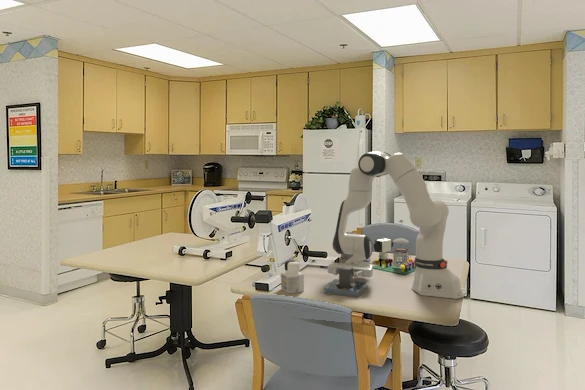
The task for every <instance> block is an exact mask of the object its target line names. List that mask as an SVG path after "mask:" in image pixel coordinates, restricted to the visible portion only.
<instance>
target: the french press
mask: <svg viewBox="0 0 585 390" xmlns="http://www.w3.org/2000/svg"><path fill="white" fill-rule="evenodd" d="M398 222H399V223H400V225H402V223H404V220H403V219H400V220H399V221H398ZM392 242H393V244H394V243H395V244H399V245H407V247H409V246H410V248H411V249H410V250H411V251H410V253H409V251H408V250H409V249H408V248H407V247H402V246H399V247H394V249H393V250H394V251H393V254H392V255H393V256H392V260H393V262H392V265H393V266H396V267H400V266H399V265H401V264H404V263H406V262H408V261H410V260H409V258H411V257H412V256H413V254H414V252H413V249H414V247H413V245H412V244H410V243H409V242H410V241H409V240H407V239H406V238H403V237H400V238H399V237H398V238H395V239H394V240H392ZM405 261H406V262H405ZM398 263H400V264H398Z"/></svg>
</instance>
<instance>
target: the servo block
mask: <svg viewBox="0 0 585 390" xmlns="http://www.w3.org/2000/svg"><path fill="white" fill-rule="evenodd" d="M338 279H339V281H337V282H336V285H339V288H340V289H348V288H349V287H350V288H352V287H353V286H355V285H356V283H353V281H354V280H353V279H354V277H353V268H352V267H341V268H339V274H338Z"/></svg>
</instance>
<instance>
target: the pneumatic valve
mask: <svg viewBox="0 0 585 390" xmlns="http://www.w3.org/2000/svg"><path fill="white" fill-rule="evenodd" d="M393 247H394V242H393V239H391V238H386V237H382V238H379V239H375V240H374V243H373V250H374V252H376V253H378V259H379V258H381V259H380V260H383V259H385V260H388V257H389V254H388V252H391V251H392V250H393Z"/></svg>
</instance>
